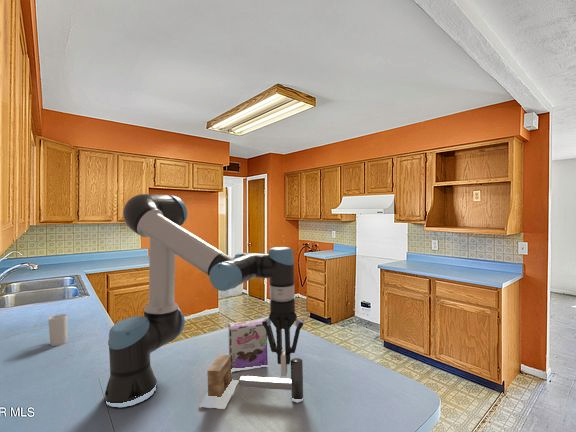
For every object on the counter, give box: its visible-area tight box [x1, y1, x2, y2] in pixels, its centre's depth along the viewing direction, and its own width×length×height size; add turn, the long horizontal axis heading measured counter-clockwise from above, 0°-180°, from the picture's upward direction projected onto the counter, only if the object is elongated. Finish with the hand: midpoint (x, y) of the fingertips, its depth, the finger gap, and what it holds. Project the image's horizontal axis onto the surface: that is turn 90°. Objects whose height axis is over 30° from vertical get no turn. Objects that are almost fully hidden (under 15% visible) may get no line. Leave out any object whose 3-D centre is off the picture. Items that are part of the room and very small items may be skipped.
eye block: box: [206, 354, 233, 397], centre depth 100 cm, size 8×14×10 cm, turn 171°
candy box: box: [228, 318, 268, 369], centre depth 117 cm, size 14×6×16 cm, turn 105°
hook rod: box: [238, 357, 304, 399], centre depth 97 cm, size 20×4×12 cm, turn 81°
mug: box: [48, 313, 68, 347], centre depth 142 cm, size 10×7×12 cm, turn 64°
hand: (284, 373), depth 96 cm, fingers closed
